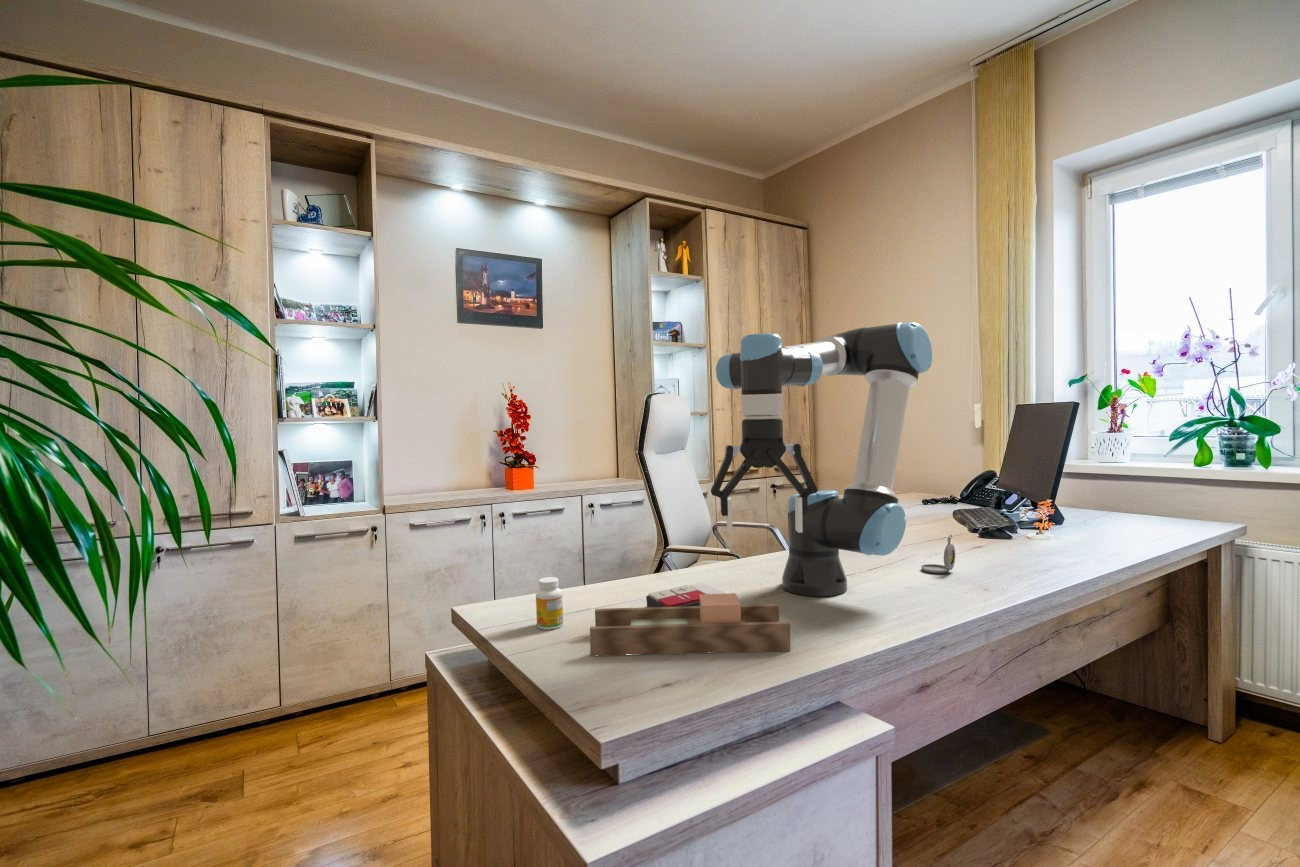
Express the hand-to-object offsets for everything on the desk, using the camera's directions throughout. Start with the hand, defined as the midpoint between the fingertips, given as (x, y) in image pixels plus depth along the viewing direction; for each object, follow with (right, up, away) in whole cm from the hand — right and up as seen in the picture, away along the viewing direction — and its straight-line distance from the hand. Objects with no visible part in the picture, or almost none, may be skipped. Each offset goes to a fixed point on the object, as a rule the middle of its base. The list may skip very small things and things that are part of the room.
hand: (764, 532), depth 121 cm
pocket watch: (+53, -17, +44) cm, 71 cm away
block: (-8, -18, +1) cm, 20 cm away
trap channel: (-14, -21, +1) cm, 25 cm away
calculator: (-13, -21, +21) cm, 32 cm away
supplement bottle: (-42, -21, +12) cm, 49 cm away
